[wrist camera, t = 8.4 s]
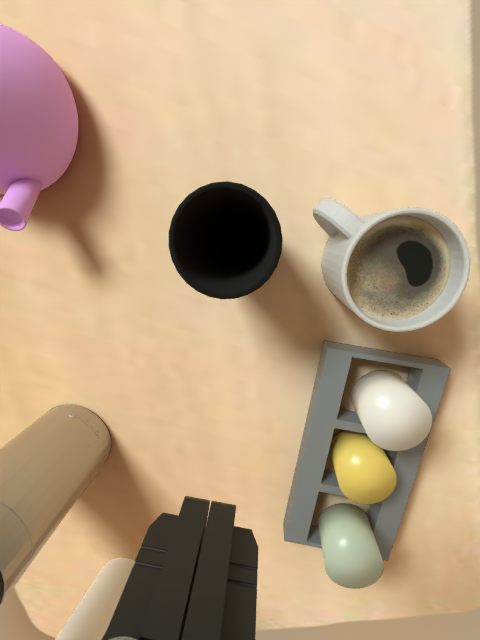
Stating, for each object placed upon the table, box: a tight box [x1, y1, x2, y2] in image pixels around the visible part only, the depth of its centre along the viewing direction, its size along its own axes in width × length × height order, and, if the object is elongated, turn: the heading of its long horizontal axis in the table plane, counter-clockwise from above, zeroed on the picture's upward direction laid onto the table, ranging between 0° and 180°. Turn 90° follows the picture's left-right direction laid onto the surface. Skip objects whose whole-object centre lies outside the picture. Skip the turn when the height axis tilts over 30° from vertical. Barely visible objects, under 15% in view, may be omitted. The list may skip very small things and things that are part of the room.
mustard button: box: [330, 430, 397, 504], centre depth 36 cm, size 6×6×5 cm
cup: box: [169, 182, 282, 299], centre depth 28 cm, size 8×8×12 cm
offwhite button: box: [351, 370, 432, 451], centre depth 32 cm, size 6×6×5 cm
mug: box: [313, 198, 470, 332], centre depth 29 cm, size 11×10×10 cm
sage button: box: [318, 503, 384, 589], centre depth 36 cm, size 6×6×5 cm
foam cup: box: [55, 557, 135, 640], centre depth 40 cm, size 10×9×13 cm
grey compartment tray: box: [283, 341, 451, 561], centre depth 38 cm, size 24×12×2 cm, turn 172°
